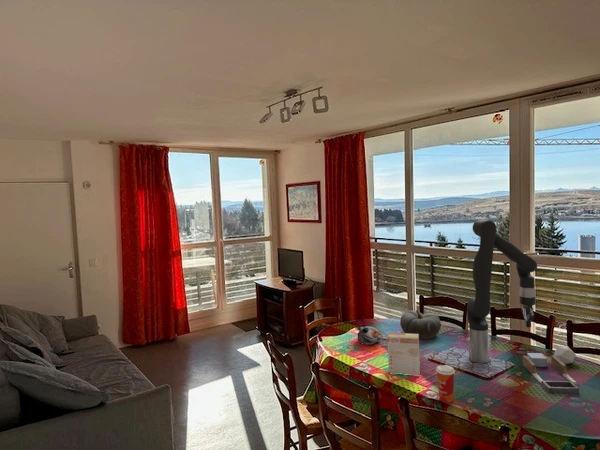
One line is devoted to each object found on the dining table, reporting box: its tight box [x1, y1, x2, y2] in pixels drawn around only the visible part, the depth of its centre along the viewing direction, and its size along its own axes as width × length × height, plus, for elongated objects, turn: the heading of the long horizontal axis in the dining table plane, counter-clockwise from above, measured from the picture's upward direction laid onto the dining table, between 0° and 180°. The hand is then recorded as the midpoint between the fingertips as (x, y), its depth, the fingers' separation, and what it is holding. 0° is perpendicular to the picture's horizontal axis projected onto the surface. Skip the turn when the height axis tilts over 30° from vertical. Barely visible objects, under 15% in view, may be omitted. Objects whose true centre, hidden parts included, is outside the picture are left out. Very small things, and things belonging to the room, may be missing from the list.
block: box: [526, 352, 548, 368], centre depth 207 cm, size 7×7×4 cm
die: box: [552, 345, 577, 365], centre depth 206 cm, size 8×9×10 cm
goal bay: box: [532, 372, 577, 385], centre depth 189 cm, size 15×9×1 cm, turn 81°
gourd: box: [399, 309, 442, 340], centre depth 257 cm, size 25×25×17 cm
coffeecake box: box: [387, 331, 421, 376], centre depth 203 cm, size 15×7×20 cm, turn 71°
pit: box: [541, 380, 580, 395], centre depth 178 cm, size 12×7×2 cm, turn 81°
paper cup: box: [435, 364, 456, 403], centre depth 174 cm, size 8×8×14 cm
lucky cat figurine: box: [357, 325, 383, 345], centre depth 247 cm, size 15×12×14 cm
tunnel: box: [522, 355, 567, 376], centre depth 199 cm, size 15×12×5 cm
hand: (528, 326), depth 216 cm, fingers closed
